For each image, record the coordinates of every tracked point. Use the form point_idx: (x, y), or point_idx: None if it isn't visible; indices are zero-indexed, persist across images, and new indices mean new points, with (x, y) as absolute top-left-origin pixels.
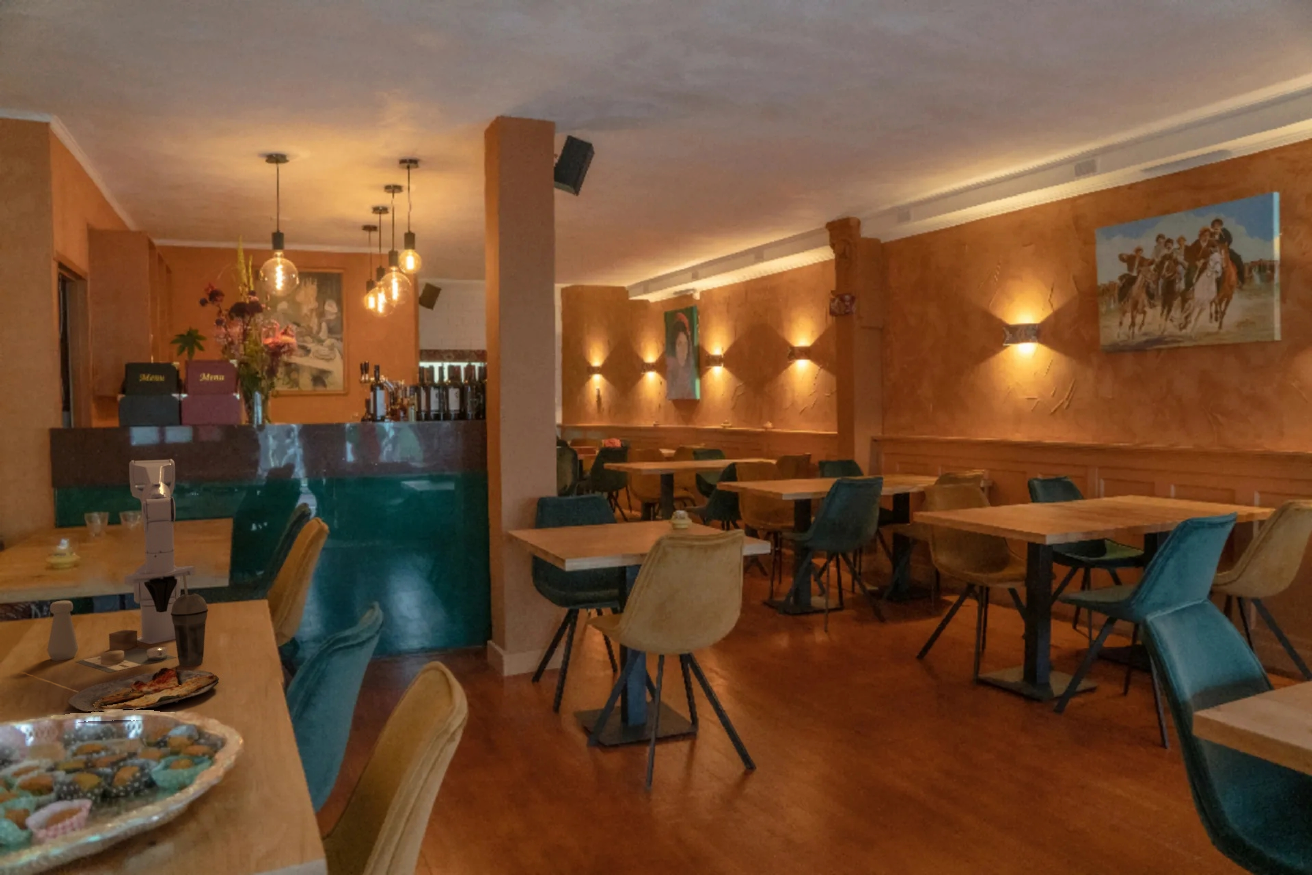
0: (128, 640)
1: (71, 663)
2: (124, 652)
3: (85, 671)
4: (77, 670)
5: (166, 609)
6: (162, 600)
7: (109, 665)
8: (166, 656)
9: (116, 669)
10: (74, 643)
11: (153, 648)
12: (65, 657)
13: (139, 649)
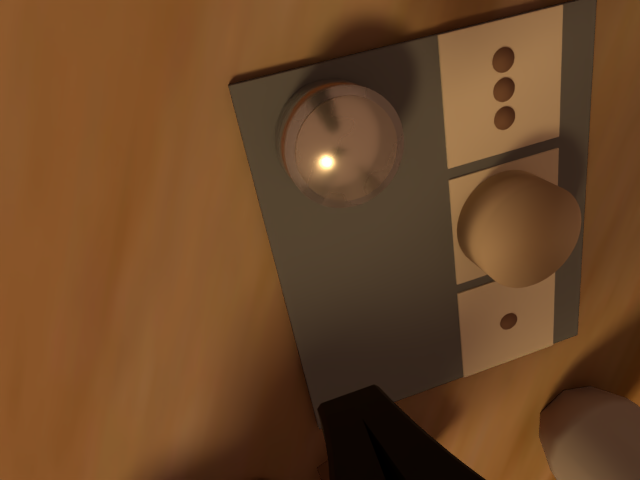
0: None
1: (581, 335)
2: (398, 382)
3: (617, 152)
4: (623, 197)
5: (328, 413)
6: (424, 473)
7: (537, 159)
8: (289, 103)
9: (554, 34)
10: (593, 442)
11: (360, 178)
12: (587, 392)
13: None
